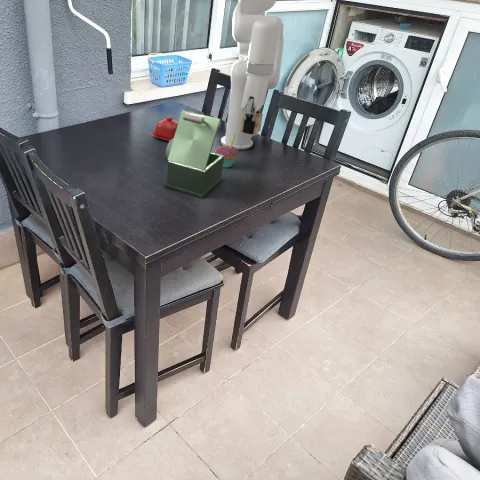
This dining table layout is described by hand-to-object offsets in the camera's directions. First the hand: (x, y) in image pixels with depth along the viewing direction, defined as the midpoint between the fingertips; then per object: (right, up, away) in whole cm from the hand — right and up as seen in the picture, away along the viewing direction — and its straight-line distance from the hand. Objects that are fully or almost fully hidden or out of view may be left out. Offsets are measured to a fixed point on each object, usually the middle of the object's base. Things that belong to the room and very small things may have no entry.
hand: (250, 129), depth 136 cm
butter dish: (-24, +8, +44) cm, 51 cm away
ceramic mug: (-20, -5, +26) cm, 34 cm away
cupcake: (-4, -7, +24) cm, 26 cm away
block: (0, 0, 0) cm, 0 cm away
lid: (-17, -3, 0) cm, 18 cm away
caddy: (-16, -15, +11) cm, 25 cm away
